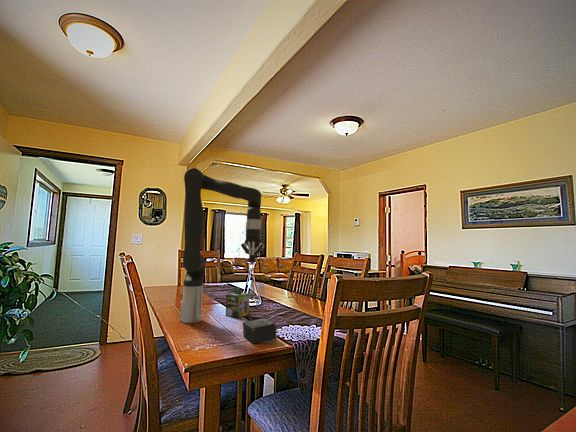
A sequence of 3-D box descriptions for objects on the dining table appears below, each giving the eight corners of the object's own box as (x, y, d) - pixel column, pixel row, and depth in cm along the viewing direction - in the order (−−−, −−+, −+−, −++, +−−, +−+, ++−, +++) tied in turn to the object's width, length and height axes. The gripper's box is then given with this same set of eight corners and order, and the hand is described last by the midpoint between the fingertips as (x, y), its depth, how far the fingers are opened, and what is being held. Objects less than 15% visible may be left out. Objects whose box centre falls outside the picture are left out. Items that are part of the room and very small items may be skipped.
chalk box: (249, 315, 165) (250, 287, 166) (238, 318, 158) (239, 289, 159) (236, 312, 170) (237, 285, 171) (224, 315, 163) (226, 287, 164)
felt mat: (259, 342, 123) (259, 340, 123) (270, 334, 133) (270, 333, 133) (269, 343, 122) (269, 342, 122) (279, 335, 132) (279, 334, 132)
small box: (243, 337, 129) (252, 344, 120) (242, 321, 129) (251, 327, 120) (266, 332, 134) (276, 339, 125) (265, 317, 134) (275, 322, 125)
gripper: (268, 228, 158) (267, 262, 157) (245, 228, 163) (243, 261, 162) (262, 228, 151) (261, 263, 150) (238, 228, 156) (236, 262, 154)
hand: (252, 262), depth 156 cm, fingers closed
